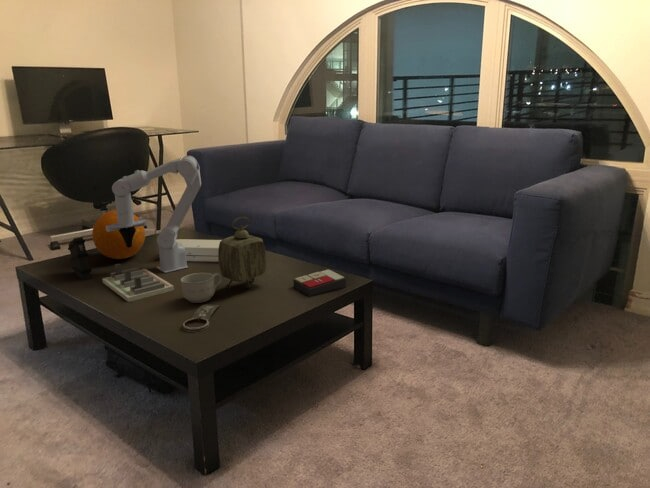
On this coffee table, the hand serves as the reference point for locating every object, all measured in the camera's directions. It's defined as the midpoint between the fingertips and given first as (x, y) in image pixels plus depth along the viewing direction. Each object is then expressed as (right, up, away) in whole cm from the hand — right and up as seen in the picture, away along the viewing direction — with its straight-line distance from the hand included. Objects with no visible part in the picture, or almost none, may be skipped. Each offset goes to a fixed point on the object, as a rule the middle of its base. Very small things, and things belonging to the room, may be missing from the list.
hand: (129, 246), depth 206 cm
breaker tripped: (+11, -15, -23) cm, 29 cm away
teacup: (+34, -17, -25) cm, 46 cm away
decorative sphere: (-9, -5, +18) cm, 21 cm away
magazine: (-17, -11, -1) cm, 20 cm away
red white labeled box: (+72, -14, -16) cm, 75 cm away
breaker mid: (+6, -13, -16) cm, 21 cm away
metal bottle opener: (+37, -22, -40) cm, 59 cm away
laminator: (+26, -5, +18) cm, 32 cm away
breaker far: (0, -11, -9) cm, 14 cm away
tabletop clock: (+46, -14, -15) cm, 51 cm away
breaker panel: (+8, -14, -14) cm, 21 cm away
